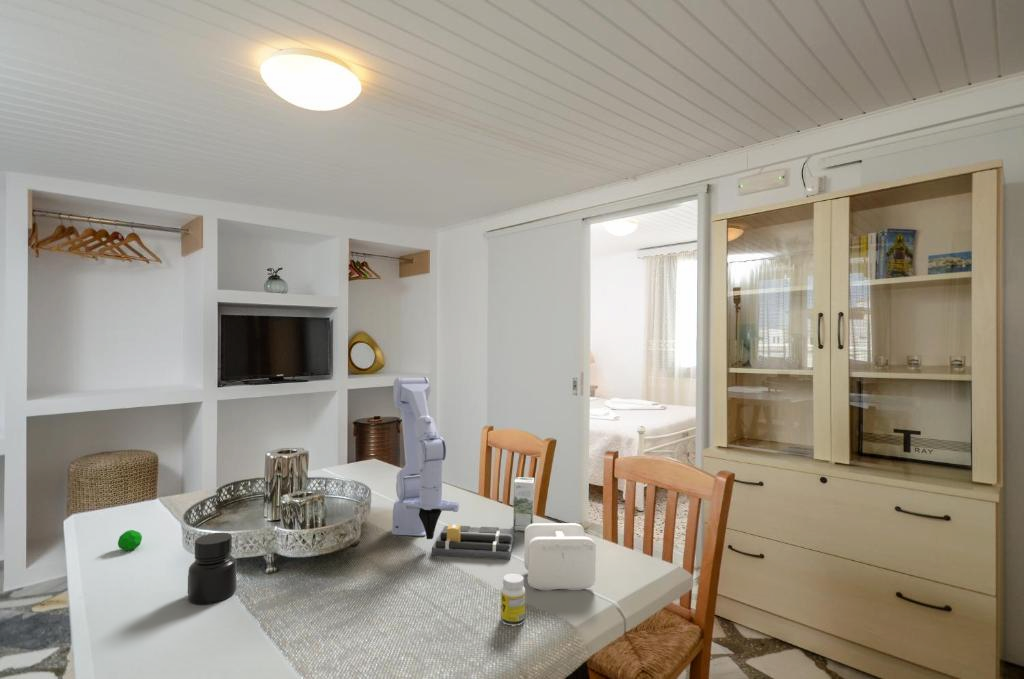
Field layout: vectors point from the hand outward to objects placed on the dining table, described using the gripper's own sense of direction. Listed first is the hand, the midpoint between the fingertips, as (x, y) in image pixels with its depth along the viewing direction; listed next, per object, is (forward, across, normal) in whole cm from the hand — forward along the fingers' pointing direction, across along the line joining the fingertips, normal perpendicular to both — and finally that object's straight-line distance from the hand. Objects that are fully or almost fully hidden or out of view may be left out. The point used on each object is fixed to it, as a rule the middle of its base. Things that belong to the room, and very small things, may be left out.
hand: (430, 537), depth 136 cm
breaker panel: (+3, +11, +4) cm, 13 cm away
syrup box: (+3, +23, +19) cm, 30 cm away
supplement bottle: (+3, +24, -32) cm, 40 cm away
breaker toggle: (+1, +6, 0) cm, 6 cm away
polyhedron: (+3, -76, -9) cm, 76 cm away
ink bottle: (+3, -40, -29) cm, 49 cm away
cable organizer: (+3, +33, -14) cm, 36 cm away
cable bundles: (+1, +12, +1) cm, 12 cm away
